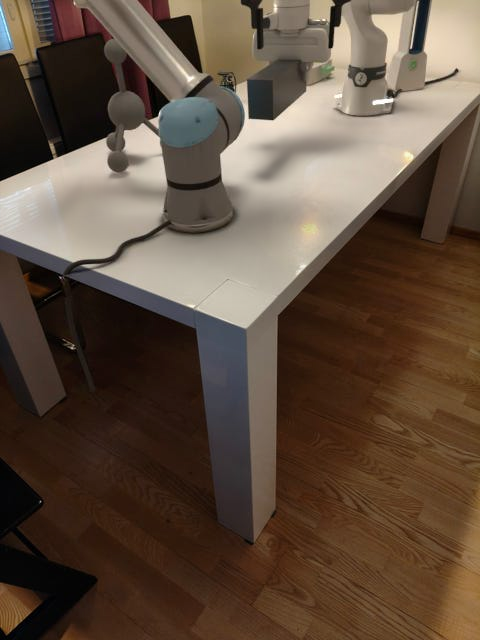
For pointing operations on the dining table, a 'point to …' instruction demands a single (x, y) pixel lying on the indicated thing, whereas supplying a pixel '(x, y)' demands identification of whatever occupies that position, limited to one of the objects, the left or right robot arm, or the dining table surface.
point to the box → (275, 88)
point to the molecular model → (122, 111)
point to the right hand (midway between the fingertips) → (290, 80)
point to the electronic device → (411, 50)
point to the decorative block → (320, 71)
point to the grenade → (227, 80)
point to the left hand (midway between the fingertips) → (295, 48)
